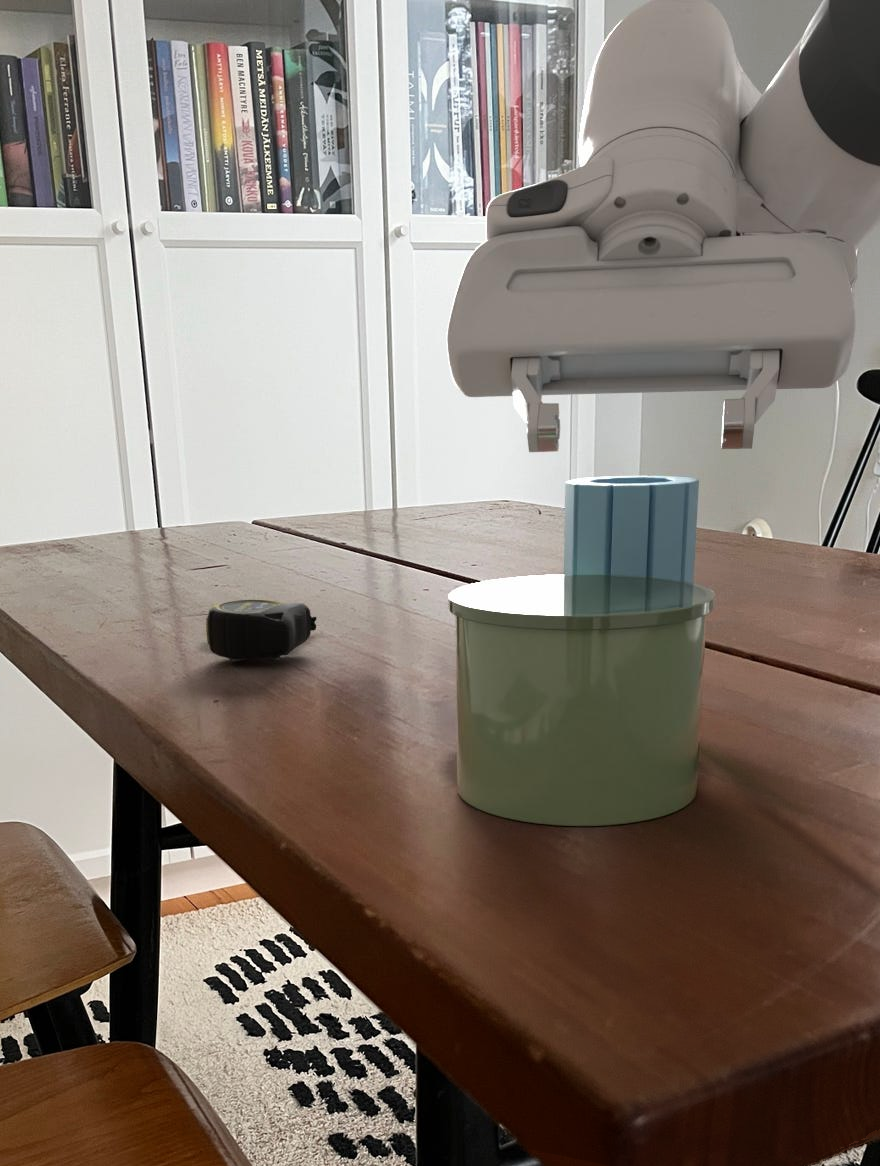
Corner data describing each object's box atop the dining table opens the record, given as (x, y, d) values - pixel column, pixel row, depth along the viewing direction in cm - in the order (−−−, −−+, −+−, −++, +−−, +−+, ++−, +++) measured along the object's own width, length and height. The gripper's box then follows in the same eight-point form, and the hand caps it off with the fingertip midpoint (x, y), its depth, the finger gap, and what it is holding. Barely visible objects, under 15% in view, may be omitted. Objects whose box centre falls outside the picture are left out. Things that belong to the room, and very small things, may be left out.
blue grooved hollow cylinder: (663, 625, 69) (670, 474, 67) (707, 647, 63) (717, 482, 61) (550, 631, 69) (552, 478, 66) (584, 654, 63) (588, 487, 60)
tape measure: (289, 670, 85) (286, 614, 83) (193, 667, 86) (189, 612, 85) (318, 650, 91) (315, 597, 90) (228, 648, 93) (225, 596, 91)
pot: (676, 841, 52) (691, 568, 48) (413, 813, 56) (407, 560, 52) (745, 723, 69) (760, 515, 65) (540, 709, 73) (542, 513, 69)
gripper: (846, 281, 68) (850, 483, 63) (472, 296, 72) (445, 487, 67) (866, 176, 62) (872, 388, 57) (458, 199, 67) (428, 399, 61)
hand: (638, 442), depth 62 cm, fingers open, 8 cm apart
